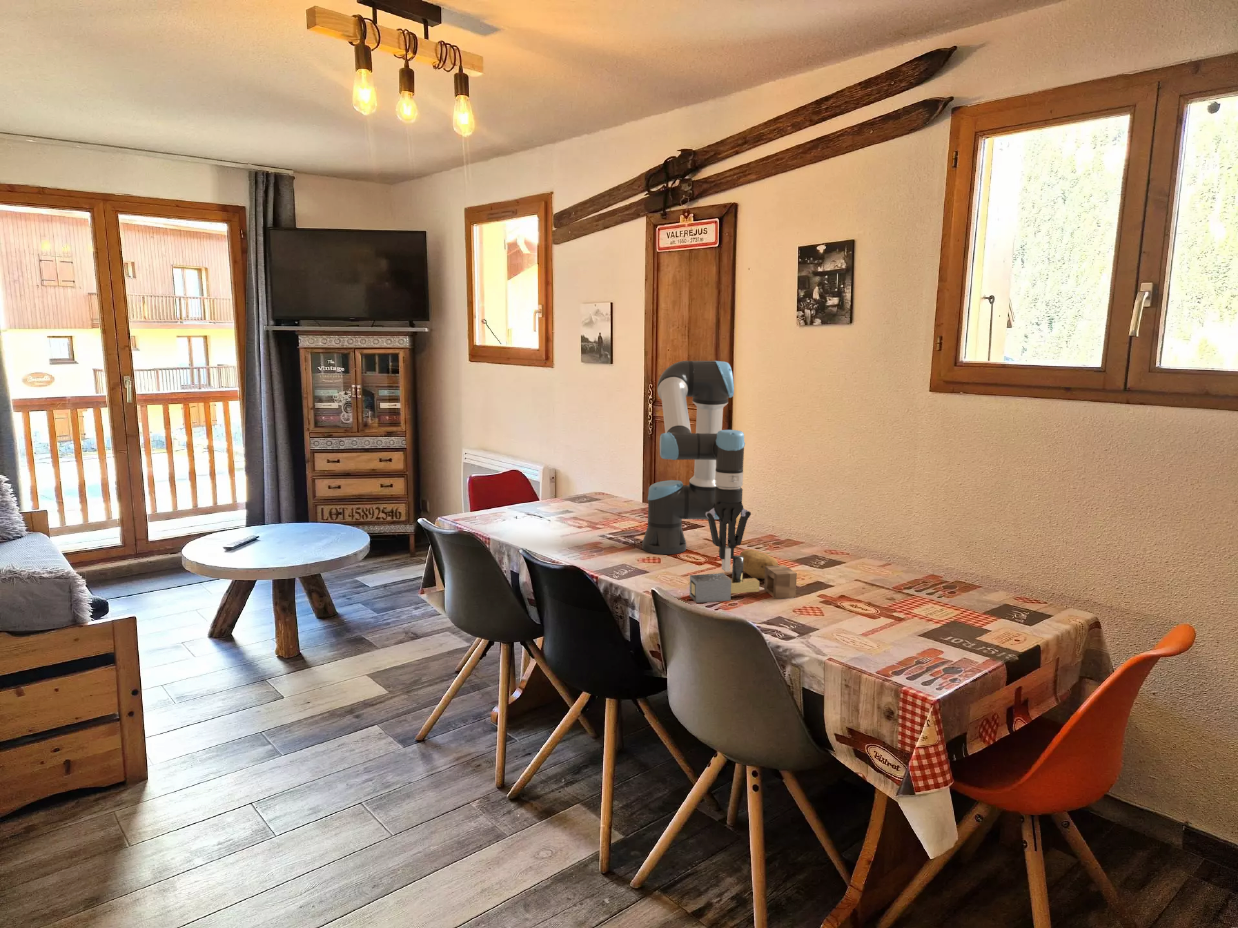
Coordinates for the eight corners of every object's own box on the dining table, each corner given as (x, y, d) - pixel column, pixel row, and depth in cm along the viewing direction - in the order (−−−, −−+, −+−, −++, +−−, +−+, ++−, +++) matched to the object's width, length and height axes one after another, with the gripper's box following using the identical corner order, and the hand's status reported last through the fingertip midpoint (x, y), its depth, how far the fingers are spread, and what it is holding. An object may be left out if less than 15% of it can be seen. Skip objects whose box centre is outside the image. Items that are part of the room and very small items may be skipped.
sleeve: (689, 595, 217) (689, 575, 216) (722, 593, 220) (723, 573, 219) (696, 602, 212) (696, 581, 211) (730, 600, 214) (731, 579, 213)
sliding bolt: (691, 592, 216) (692, 557, 214) (754, 588, 220) (756, 554, 218) (694, 595, 213) (695, 560, 211) (759, 591, 217) (760, 557, 215)
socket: (764, 589, 224) (765, 566, 222) (783, 588, 225) (784, 565, 224) (775, 598, 216) (776, 574, 215) (795, 597, 217) (796, 573, 216)
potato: (762, 586, 226) (763, 560, 225) (731, 574, 238) (732, 549, 237) (786, 581, 231) (788, 555, 230) (754, 569, 243) (755, 544, 242)
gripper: (710, 490, 207) (708, 575, 210) (756, 488, 209) (753, 572, 213) (701, 484, 214) (699, 567, 218) (745, 483, 217) (742, 564, 220)
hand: (725, 569), depth 215 cm, fingers closed
